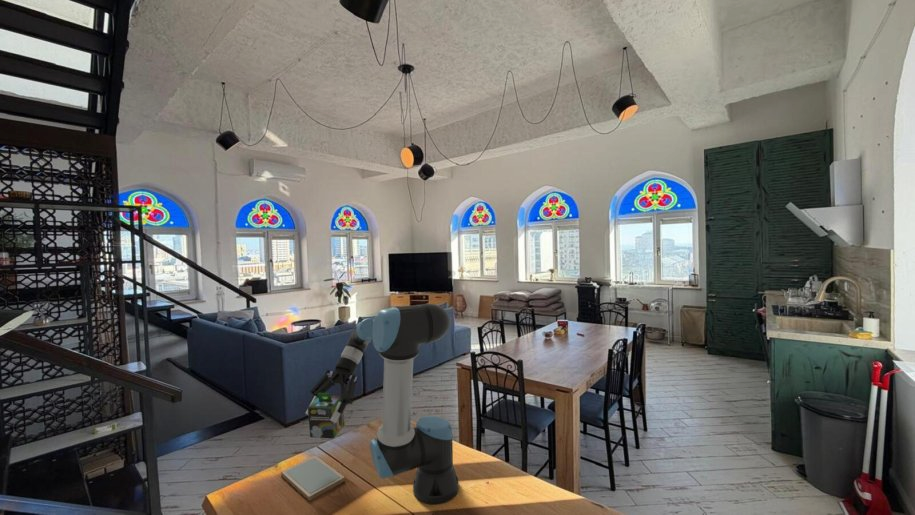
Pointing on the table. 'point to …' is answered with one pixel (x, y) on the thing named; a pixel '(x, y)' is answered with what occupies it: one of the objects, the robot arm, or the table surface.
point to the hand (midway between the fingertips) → (320, 418)
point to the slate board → (312, 477)
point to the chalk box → (324, 416)
